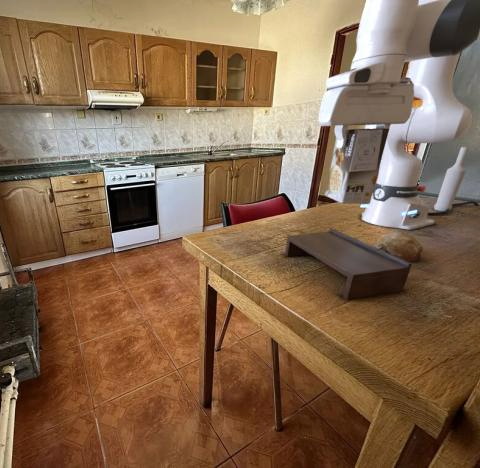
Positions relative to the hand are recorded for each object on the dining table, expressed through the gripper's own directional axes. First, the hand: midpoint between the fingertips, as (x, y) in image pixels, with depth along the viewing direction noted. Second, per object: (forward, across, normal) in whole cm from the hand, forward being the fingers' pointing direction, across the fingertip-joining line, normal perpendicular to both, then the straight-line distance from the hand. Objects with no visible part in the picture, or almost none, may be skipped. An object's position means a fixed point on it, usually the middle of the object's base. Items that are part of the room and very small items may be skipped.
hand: (357, 147), depth 58 cm
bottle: (+29, -78, -29) cm, 88 cm away
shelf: (+30, +2, +4) cm, 30 cm away
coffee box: (+12, 0, 0) cm, 12 cm away
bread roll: (+30, -21, 0) cm, 36 cm away
